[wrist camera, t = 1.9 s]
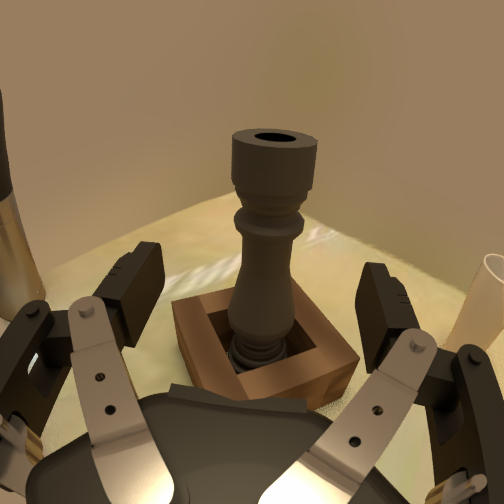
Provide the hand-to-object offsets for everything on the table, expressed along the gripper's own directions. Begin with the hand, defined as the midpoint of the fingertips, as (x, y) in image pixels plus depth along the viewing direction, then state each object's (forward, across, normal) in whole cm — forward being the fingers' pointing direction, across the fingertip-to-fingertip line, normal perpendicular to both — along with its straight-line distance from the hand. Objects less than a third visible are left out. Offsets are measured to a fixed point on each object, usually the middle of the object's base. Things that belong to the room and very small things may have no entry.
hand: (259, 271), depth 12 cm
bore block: (+11, 0, +22) cm, 25 cm away
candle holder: (+11, 0, +22) cm, 25 cm away
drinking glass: (+14, -26, +22) cm, 37 cm away
